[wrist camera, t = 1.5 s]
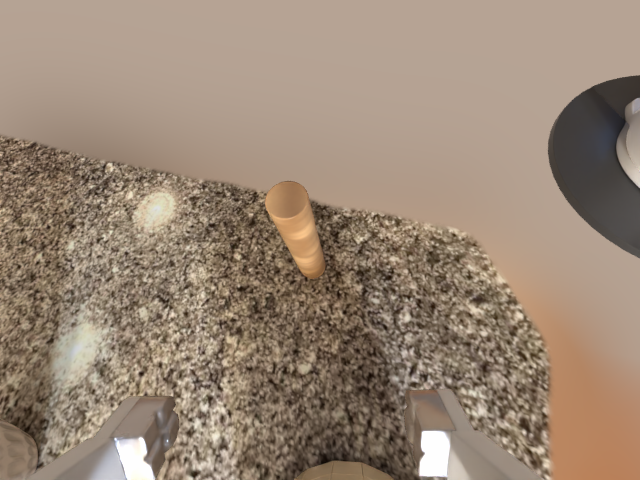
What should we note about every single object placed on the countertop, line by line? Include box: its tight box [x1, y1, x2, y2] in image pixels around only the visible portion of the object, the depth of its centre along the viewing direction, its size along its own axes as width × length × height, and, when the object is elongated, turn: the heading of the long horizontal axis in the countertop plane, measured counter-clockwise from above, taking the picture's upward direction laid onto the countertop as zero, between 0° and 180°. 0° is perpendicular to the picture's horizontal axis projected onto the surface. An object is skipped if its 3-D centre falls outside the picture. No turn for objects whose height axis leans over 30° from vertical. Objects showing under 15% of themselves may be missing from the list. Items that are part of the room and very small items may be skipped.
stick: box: [265, 181, 326, 279], centre depth 25 cm, size 3×3×14 cm
